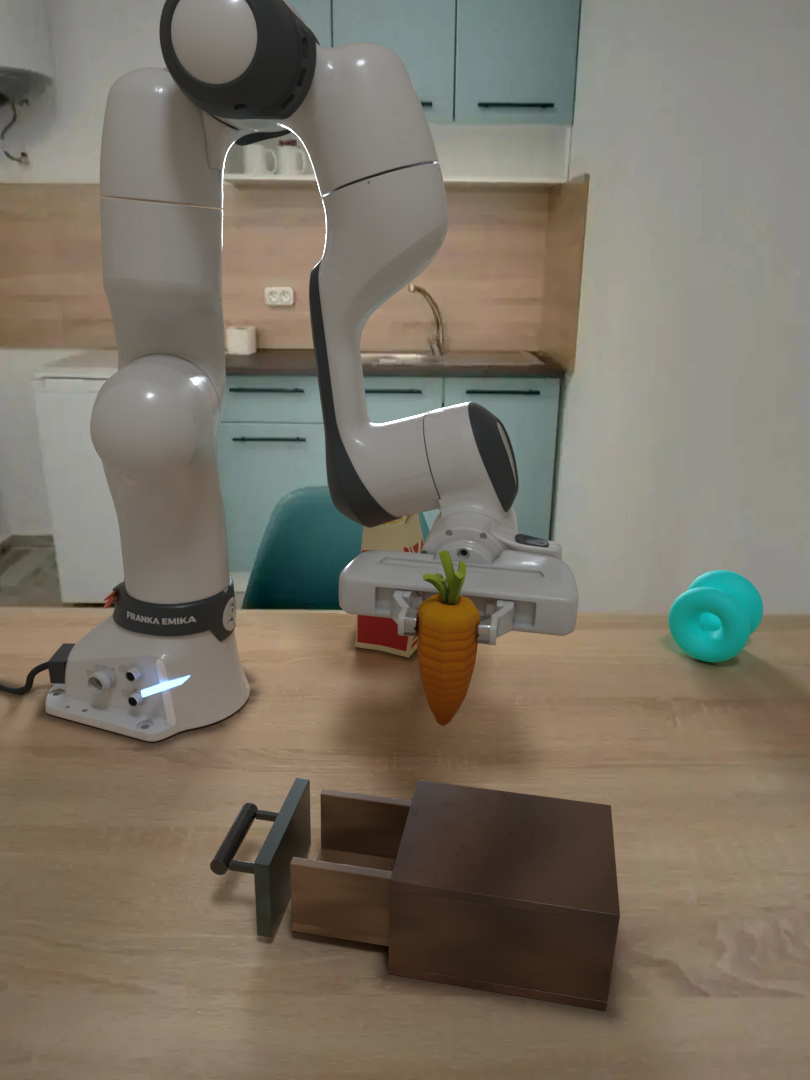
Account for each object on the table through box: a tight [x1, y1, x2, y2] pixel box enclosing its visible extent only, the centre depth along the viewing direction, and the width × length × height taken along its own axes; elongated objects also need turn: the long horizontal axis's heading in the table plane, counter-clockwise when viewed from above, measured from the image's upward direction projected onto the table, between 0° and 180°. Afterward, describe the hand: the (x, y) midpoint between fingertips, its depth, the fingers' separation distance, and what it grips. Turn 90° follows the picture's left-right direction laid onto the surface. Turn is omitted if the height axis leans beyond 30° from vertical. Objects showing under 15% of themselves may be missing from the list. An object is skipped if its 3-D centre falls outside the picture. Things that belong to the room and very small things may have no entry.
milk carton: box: [355, 513, 425, 658], centre depth 107 cm, size 9×9×20 cm
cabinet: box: [387, 779, 621, 1011], centre depth 63 cm, size 16×12×9 cm
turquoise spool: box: [667, 569, 764, 663], centre depth 108 cm, size 10×10×10 cm
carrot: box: [417, 550, 480, 727], centre depth 66 cm, size 5×5×15 cm
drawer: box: [209, 777, 412, 947], centre depth 65 cm, size 19×10×7 cm, turn 80°
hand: (446, 632), depth 64 cm, fingers closed on carrot, 5 cm apart
